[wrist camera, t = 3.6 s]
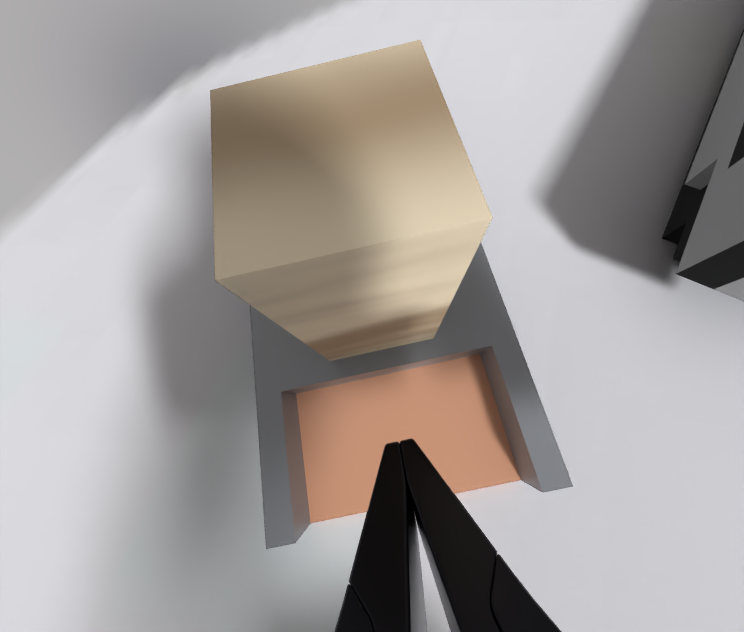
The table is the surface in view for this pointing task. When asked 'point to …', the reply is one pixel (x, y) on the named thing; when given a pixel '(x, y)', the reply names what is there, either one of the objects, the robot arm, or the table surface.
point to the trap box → (398, 412)
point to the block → (344, 200)
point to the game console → (715, 195)
